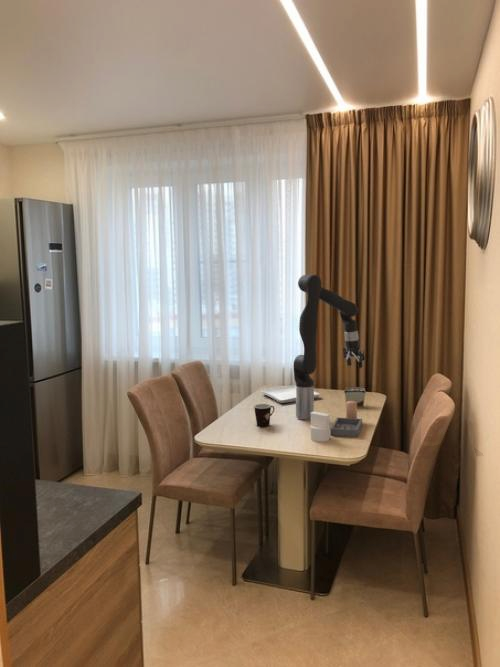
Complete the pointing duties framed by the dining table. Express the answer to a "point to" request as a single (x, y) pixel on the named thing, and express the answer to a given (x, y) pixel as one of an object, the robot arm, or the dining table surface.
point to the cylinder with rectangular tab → (319, 427)
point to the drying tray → (346, 427)
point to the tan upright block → (351, 409)
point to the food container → (355, 395)
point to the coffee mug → (263, 414)
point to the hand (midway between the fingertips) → (354, 366)
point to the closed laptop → (284, 393)
